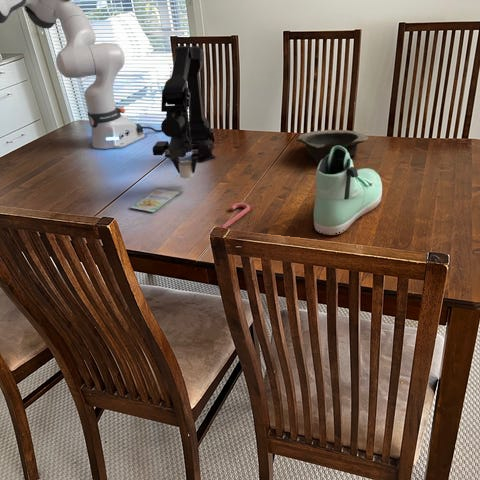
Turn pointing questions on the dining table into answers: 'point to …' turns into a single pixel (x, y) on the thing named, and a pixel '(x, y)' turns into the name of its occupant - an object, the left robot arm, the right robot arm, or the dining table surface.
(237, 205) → the candy cane
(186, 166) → the canister
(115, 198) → the dining table surface
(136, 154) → the dining table surface
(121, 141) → the left robot arm
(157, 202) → the baking ingredient package
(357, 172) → the sneaker
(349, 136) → the stone bowl
